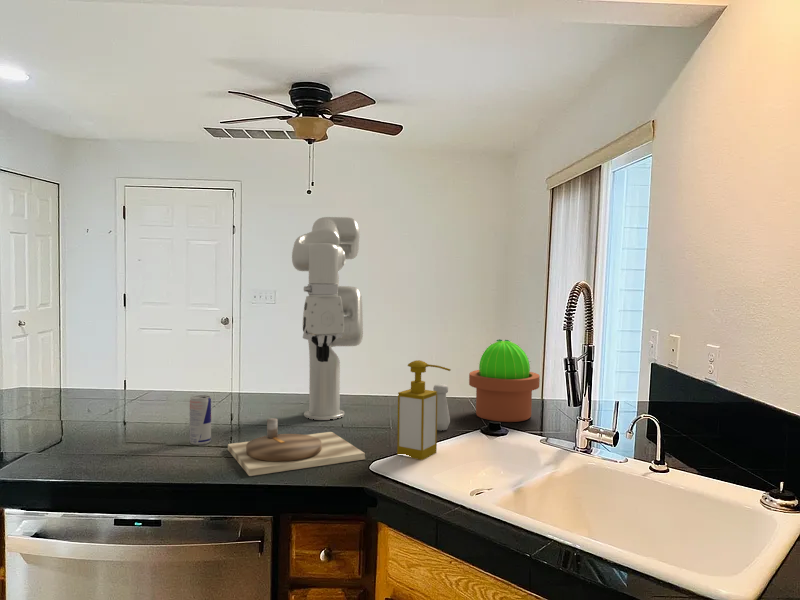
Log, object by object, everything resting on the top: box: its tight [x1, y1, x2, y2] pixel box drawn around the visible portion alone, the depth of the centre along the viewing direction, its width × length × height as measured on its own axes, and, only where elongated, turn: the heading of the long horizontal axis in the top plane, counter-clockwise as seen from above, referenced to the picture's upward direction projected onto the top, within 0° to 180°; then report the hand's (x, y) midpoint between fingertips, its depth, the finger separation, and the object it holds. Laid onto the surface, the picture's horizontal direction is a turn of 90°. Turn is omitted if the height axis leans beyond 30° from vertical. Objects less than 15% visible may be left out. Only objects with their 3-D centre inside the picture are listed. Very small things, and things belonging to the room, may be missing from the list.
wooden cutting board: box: [227, 431, 366, 477], centre depth 148 cm, size 22×28×2 cm
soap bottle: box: [396, 360, 452, 461], centre depth 148 cm, size 7×13×24 cm, turn 58°
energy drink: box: [189, 394, 212, 446], centre depth 157 cm, size 5×5×12 cm
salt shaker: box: [432, 383, 451, 431], centre depth 174 cm, size 6×6×13 cm
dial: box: [246, 417, 322, 461], centre depth 145 cm, size 18×18×6 cm
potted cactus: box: [468, 339, 541, 423], centre depth 191 cm, size 22×22×25 cm
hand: (322, 361), depth 156 cm, fingers closed
